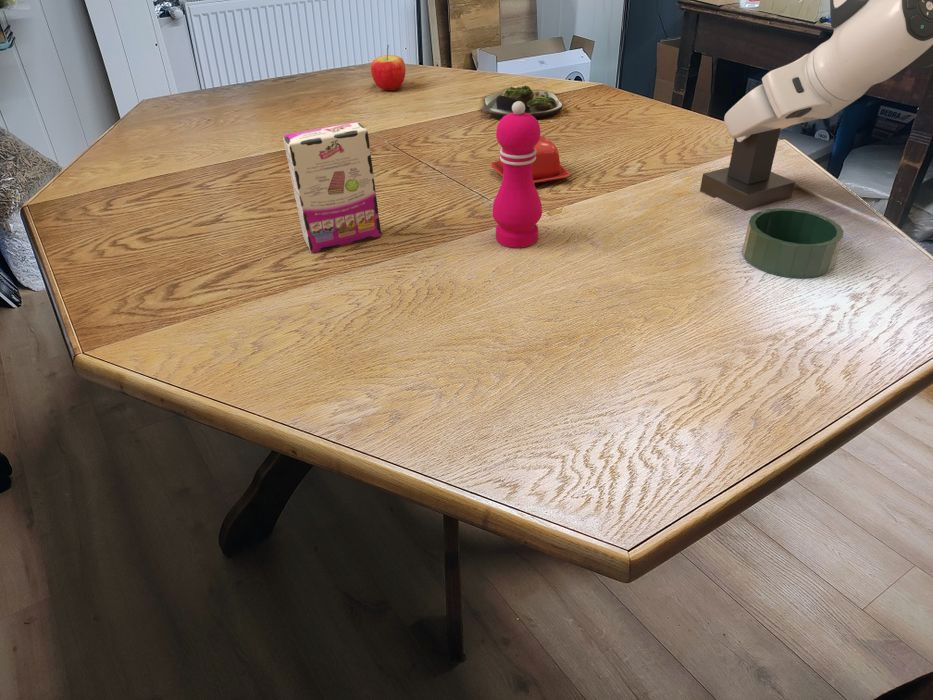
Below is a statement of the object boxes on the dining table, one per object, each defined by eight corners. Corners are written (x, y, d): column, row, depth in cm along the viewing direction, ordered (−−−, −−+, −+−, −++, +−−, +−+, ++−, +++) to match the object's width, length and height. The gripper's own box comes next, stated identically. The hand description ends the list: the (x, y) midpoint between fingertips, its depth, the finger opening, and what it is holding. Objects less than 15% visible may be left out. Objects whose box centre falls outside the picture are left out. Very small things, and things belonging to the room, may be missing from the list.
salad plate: (476, 97, 161) (476, 76, 159) (551, 93, 162) (552, 73, 159) (483, 123, 146) (483, 101, 143) (566, 118, 146) (567, 96, 144)
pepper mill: (534, 252, 98) (538, 111, 86) (486, 246, 100) (484, 107, 88) (546, 230, 104) (551, 95, 92) (500, 225, 106) (500, 92, 94)
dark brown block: (748, 170, 112) (761, 108, 107) (769, 179, 109) (783, 115, 103) (727, 175, 111) (739, 113, 105) (747, 184, 108) (761, 120, 102)
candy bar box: (371, 224, 107) (358, 119, 98) (382, 237, 103) (369, 129, 94) (301, 240, 103) (280, 133, 94) (310, 254, 100) (289, 143, 90)
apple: (410, 84, 172) (407, 42, 166) (401, 94, 165) (398, 50, 159) (379, 84, 173) (374, 42, 167) (369, 93, 167) (364, 50, 161)
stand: (745, 178, 117) (748, 161, 115) (791, 199, 110) (795, 181, 108) (699, 190, 114) (702, 173, 112) (744, 212, 106) (748, 194, 105)
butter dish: (573, 182, 118) (576, 133, 113) (512, 193, 115) (512, 143, 110) (545, 160, 127) (546, 114, 122) (487, 170, 124) (486, 123, 119)
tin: (784, 233, 100) (792, 201, 97) (852, 267, 92) (863, 233, 89) (723, 252, 96) (730, 219, 93) (788, 289, 88) (798, 254, 85)
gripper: (866, 52, 97) (795, 105, 110) (759, 73, 90) (696, 126, 103) (884, 92, 97) (809, 140, 110) (777, 116, 90) (711, 164, 103)
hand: (753, 133), depth 107 cm, fingers closed on dark brown block, 4 cm apart
